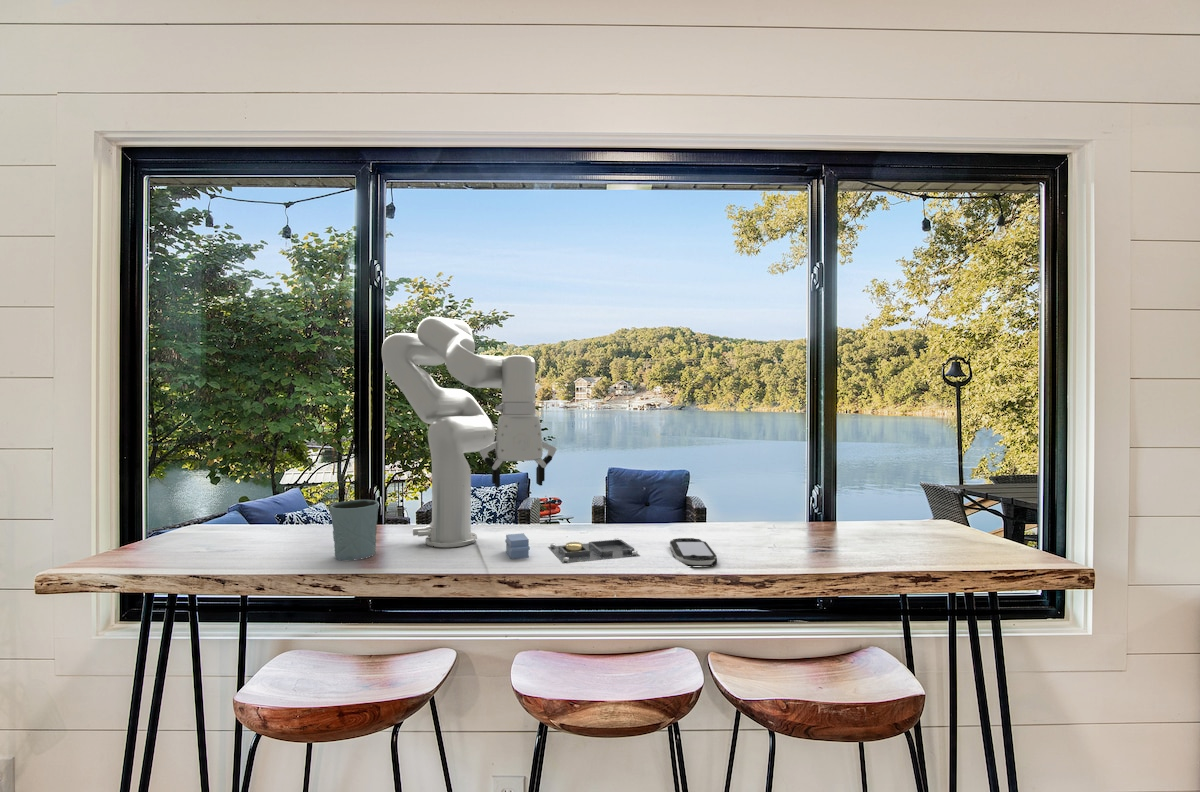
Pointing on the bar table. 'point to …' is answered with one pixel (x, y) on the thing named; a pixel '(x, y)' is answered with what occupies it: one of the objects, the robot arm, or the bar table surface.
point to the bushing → (573, 546)
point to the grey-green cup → (354, 528)
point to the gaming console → (693, 552)
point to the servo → (517, 545)
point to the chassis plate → (595, 551)
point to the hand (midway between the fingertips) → (518, 485)
